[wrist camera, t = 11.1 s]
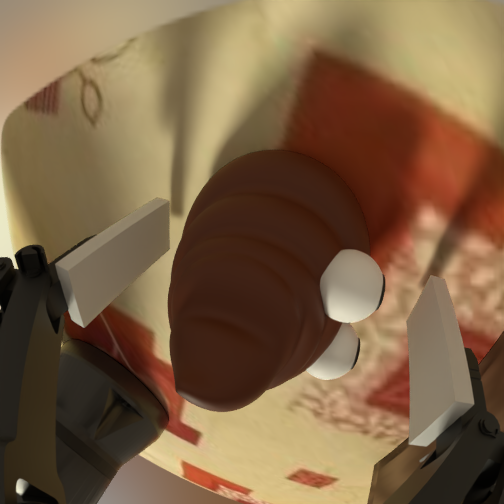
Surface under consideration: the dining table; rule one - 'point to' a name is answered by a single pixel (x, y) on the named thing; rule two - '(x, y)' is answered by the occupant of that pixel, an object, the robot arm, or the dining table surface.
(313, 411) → the dining table surface
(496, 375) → the box
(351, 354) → the poop emoji
